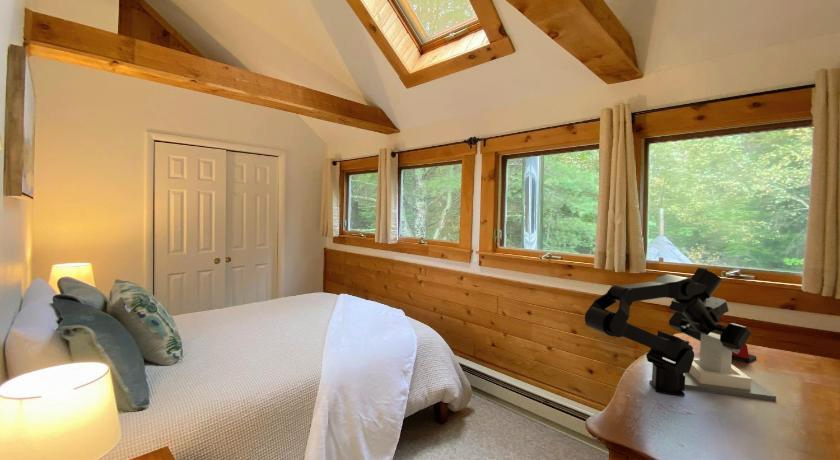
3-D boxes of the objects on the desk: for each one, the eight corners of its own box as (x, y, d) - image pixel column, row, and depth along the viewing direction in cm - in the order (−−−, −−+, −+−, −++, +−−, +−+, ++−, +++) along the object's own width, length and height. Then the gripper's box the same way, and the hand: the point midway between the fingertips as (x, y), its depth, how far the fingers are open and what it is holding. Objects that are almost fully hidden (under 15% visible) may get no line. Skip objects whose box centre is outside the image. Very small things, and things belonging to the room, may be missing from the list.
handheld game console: (757, 359, 121) (759, 337, 121) (744, 366, 116) (746, 343, 115) (712, 347, 132) (713, 327, 132) (698, 352, 126) (699, 331, 126)
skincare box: (731, 381, 102) (733, 339, 101) (719, 382, 100) (722, 340, 100) (708, 371, 107) (711, 331, 107) (697, 373, 106) (700, 332, 106)
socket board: (684, 388, 99) (685, 373, 99) (664, 365, 114) (664, 352, 114) (775, 401, 93) (777, 385, 93) (741, 374, 109) (742, 360, 109)
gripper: (748, 296, 93) (774, 335, 96) (677, 282, 110) (701, 316, 114) (724, 329, 91) (752, 368, 94) (656, 309, 108) (681, 343, 112)
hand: (720, 346), depth 104 cm, fingers open, 9 cm apart
